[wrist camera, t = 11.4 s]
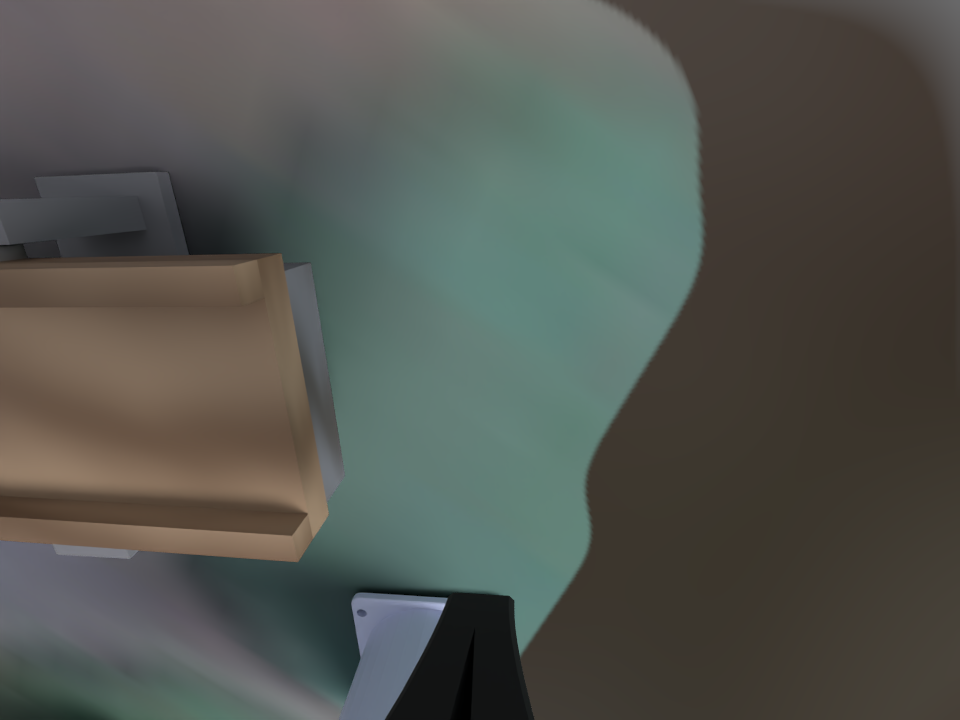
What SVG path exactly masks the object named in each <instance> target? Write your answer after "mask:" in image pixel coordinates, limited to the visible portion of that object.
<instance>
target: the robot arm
mask: <svg viewBox="0 0 960 720" xmlns="http://www.w3.org/2000/svg"><path fill="white" fill-rule="evenodd" d="M351 606H352V611H353V617H354V623H355V628H356V634H357V640H358V645H359V651H360V657H361V659H360V662H359V665H358V668H357V670H356V673H355V676H354V679H353V681H352V684H351V687H350V690H349V692H348V695H347V698H346V701H345V703H344V706H343V709H342V712H341V714H340V717H339V720H534V716H533V712H532V708H531V704H530V700H529V696H528V692H527V688H526V684H525V680H524V675H523V671H522V666H521V661H520V655H519V649H518V644H517V637H516V629H515V618H514V600H513V599H512V598H511V597H510V596H502V595H486V594H470V593H452V594H451V595H449V596H448V598H440V597H424V596H409V595H393V594H377V593H357V594H355V595H354V597H353V599H352V602H351Z"/></svg>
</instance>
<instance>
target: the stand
mask: <svg viewBox="0 0 960 720" xmlns="http://www.w3.org/2000/svg"><path fill="white" fill-rule="evenodd" d="M34 179H35V182H36V185H37V188H38V191H39V194H40V197H41V198H31V199H0V245H12V244H21V243H30V242H39V241H48V240H56V243H57V246H58V248H59V251H60V254H61V257H62V258H68V257H119V256H169V255H189V252H188V248H187V244H186V240H185V236H184V232H183V229H182V225H181V221H180V217H179V213H178V209H177V205H176V201H175V197H174V193H173V189H172V185H171V181H170V177H169V173H168V172H138V173H116V174H93V175H71V176H49V177H34ZM52 545H53V547H54V549H55V552H56V554H57V555H71V556H88V557H105V558H122V559H131V558H132V557H133V556H134V555H135V554H136V553H137V552H138V551H139V550H126V549H112V548H98V547H85V546H71V545H58V544H52Z"/></svg>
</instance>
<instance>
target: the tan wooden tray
mask: <svg viewBox="0 0 960 720" xmlns="http://www.w3.org/2000/svg"><path fill="white" fill-rule="evenodd" d="M344 477H345V472H344V465H343V459H342V453H341V447H340V441H339V434H338V428H337V422H336V416H335V410H334V403H333V397H332V391H331V385H330V379H329V372H328V366H327V360H326V354H325V348H324V341H323V335H322V329H321V323H320V317H319V310H318V304H317V298H316V292H315V286H314V279H313V273H312V267H311V263H283V260H282V254H281V253H270V254H220V255H169V256H119V257H68V258H28V257H27V254H26V252H25V249H24V246H23V244H12V245H0V540H3V541H17V542H30V543H44V544H58V545H71V546H85V547H98V548H112V549H126V550H139V551H153V552H166V553H180V554H194V555H207V556H221V557H234V558H248V559H262V560H275V561H289V562H298V561H299V560H300V558H301V557H302V555H303V554H304V552H305V551H306V549H307V547H308V546H309V544H310V543H311V541H312V540H313V538H314V537H315V535H316V534H317V532H318V531H319V529H320V528H321V526H322V524H323V523H324V521H325V520H326V518H327V517H328V515H329V512H328V507H327V502H328V500H329V499H330V497H331V496H332V494H333V493H334V491H335V490H336V489H337V487H338V486H339V484H340V483H341V481H342V480H343V478H344Z"/></svg>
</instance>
